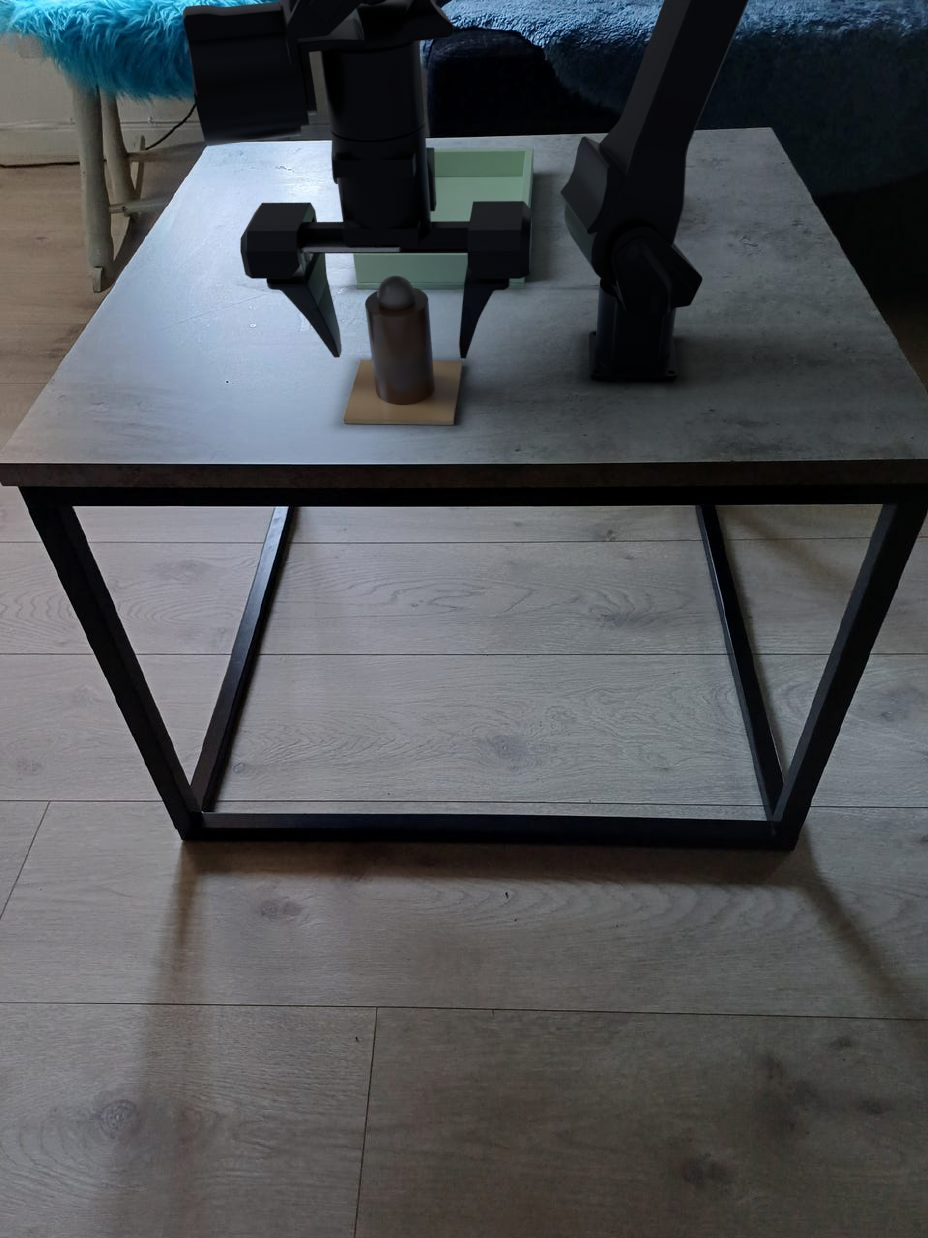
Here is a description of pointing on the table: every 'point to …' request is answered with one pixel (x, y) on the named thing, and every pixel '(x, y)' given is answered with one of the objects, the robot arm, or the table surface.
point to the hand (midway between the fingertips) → (400, 354)
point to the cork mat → (427, 412)
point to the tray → (455, 214)
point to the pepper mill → (400, 342)
